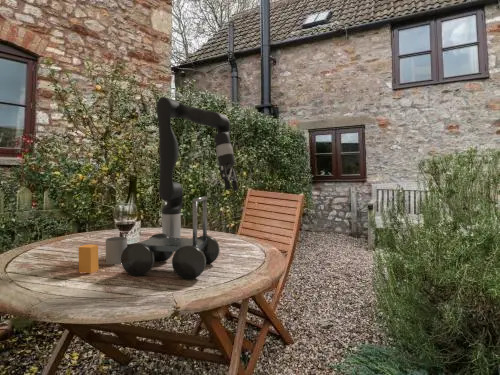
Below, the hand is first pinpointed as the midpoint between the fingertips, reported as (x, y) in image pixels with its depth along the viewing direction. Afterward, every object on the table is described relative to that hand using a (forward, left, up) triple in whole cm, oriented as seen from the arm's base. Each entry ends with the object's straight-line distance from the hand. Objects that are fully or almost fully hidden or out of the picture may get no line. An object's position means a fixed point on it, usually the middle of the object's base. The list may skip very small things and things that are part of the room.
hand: (232, 190), depth 144 cm
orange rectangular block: (-13, -56, -31) cm, 66 cm away
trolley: (+2, -28, -31) cm, 42 cm away
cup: (-21, -44, -31) cm, 58 cm away
